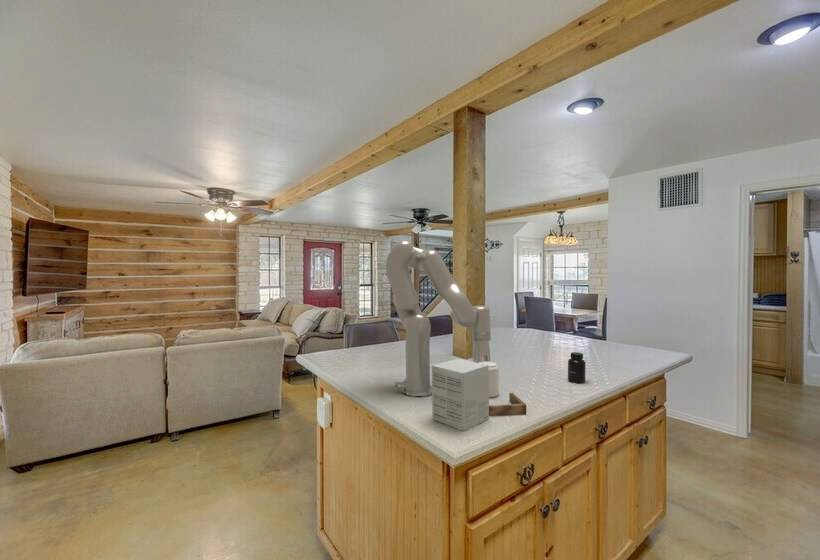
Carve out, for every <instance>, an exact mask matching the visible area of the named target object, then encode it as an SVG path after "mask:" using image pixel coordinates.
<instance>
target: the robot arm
mask: <svg viewBox="0 0 820 560" xmlns="http://www.w3.org/2000/svg"><path fill="white" fill-rule="evenodd" d="M409 267H410V268H412V269H417V270H421V271H423V272H424V273H425V274H426V275H425V276H427V278H428V280H429V281H430V283H431V285H432V287H433V289H434V290H435V292H436V293H437V294H438V295H439V296H440V297H441V298H442V299H443V300H445V301H444V302H446V303H447V304H448V306H449V307H450V308H451V312H450V319H451V321H453V323H455V324H456V325H459V326H461V327H463V328H470V327H471V341H472V362H476V363H479V362H483V361H490V362H491V351H490V350H491V349H490V341H491V339H492V338H491V319H490V318H491V316H490V315H491V313H490V307H488V306H487V305H474V306H473V305H472V303H471V302H470V300H469V298H468V297H467V295H466V294H465V293H464V291H463V290H462V289H461V288H460V286H459V285H458V283H457V282H456V280H455V279H454V277H453V275H452V274H451V272H450V271H449V269H448V267H447V265H446V263H445V261H444V260H443V258H442V256H441V255H440V254H439V252H438V251H437V250H434V249H427V250H425V249H421V248H419V247H415V246H414V245H413V244H412V242H410V241H408V240H405V239H403V240H399V241H398V242H396V243H395V244H393V245H392V246H391V248H390V252H389V253H388V255H387V257H386V262H385V274H386V276H387V280H388V283H389V285H390V288H391V291H392V301H393V304H394V307H395V310H396V312H397V315H398V317H399V321H400V322H401V324H402V326H403V328H404V330H405V375H406V376H405V378H404V380H402V381H394V388H398V389H402V390H401V391H403V392H404V393H406V394H408V395H412V396H411V397H415V396H421V397H427V396H432V385H431V353H430V351H431V349H430V346H431V345H430V344H431V343H430V341H431V340H430V339H431V331H432V330H431V329H432V328H431V327H432V326H431V321H430V319H429V317H428V316H427V315H426V314H425V313H423V312H422V310H421V308H420V306H419V301H420V298H419V297H420V296H419V294H418V292H417V290H416V288H415V286H414V285H415V284H414V283H413V281H412V278H411V275H410V272H409ZM403 392H402V393H403ZM404 393H403V394H404ZM408 395H407V396H408Z"/></svg>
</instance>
